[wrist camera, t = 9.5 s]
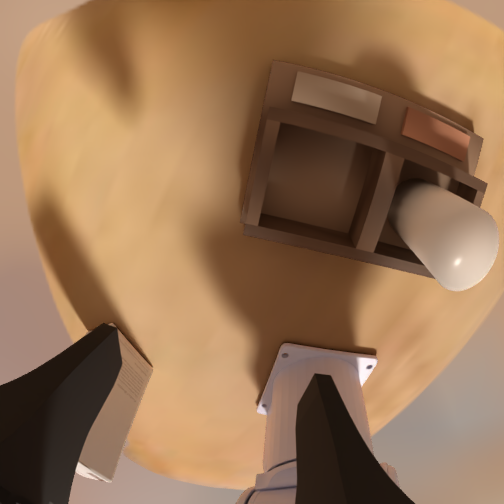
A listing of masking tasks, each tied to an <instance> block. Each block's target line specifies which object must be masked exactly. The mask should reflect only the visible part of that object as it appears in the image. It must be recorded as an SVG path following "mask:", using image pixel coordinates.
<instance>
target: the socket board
mask: <svg viewBox="0 0 504 504" xmlns="http://www.w3.org/2000/svg"><path fill="white" fill-rule="evenodd" d="M482 143H483V138H482V137H480V136H478V135H477V134H475V133H473V132H471V131H470V130H468V129H466V128H464V127H462V126H461V125H459V124H457V123H455V122H453V121H451V120H449V119H447V118H445V117H443V116H441V115H439V114H437V113H435V112H433V111H431V110H429V109H427V108H425V107H422V106H420V105H418V104H416V103H413V102H411V101H409V100H406V99H404V98H402V97H399V96H397V95H394V94H392V93H389V92H386V91H384V90H381V89H378V88H376V87H373V86H370V85H367V84H364V83H361V82H358V81H355V80H352V79H349V78H345V77H342V76H339V75H335V74H332V73H328V72H325V71H321V70H317V69H313V68H309V67H305V66H300V65H296V64H291V63H287V62H282V61H277V60H273V63H272V68H271V72H270V77H269V82H268V86H267V91H266V96H265V100H264V105H263V110H262V115H261V119H260V124H259V129H258V134H257V139H256V144H255V149H254V154H253V158H252V163H251V168H250V173H249V178H248V184H247V189H246V194H245V199H244V204H243V209H242V214H241V219H240V223H243V224H245V228H244V233H243V235H247V236H251V237H256V238H260V239H265V240H270V241H274V242H279V243H283V244H288V245H292V246H297V247H301V248H306V249H310V250H314V251H319V252H323V253H328V254H332V255H336V256H341V257H345V258H350V259H354V260H358V261H362V262H367V263H371V264H375V265H380V266H384V267H388V268H392V269H397V270H401V271H405V272H409V273H413V274H417V275H422V276H426V277H430V278H434V279H435V277H434V276H433V275H432V274H431V273H430V271H429V270H428V269H427V268H426V266H425V265H424V264H423V263H422V262H421V260H420V259H419V258H418V257H417V256H416V255H415V253H414V252H413V251H412V250H411V249H410V248H409V246H408V245H407V244H406V243H405V242H404V241H403V240H402V239H401V237H400V236H399V235H398V234H397V233H396V232H395V231H394V230H393V228H392V227H391V225H390V223H389V220H388V216H387V214H388V211H389V208H390V205H391V202H392V199H393V196H394V193H395V189H396V187H397V186H398V185H399V184H400V183H402V182H403V181H405V180H408V179H411V178H421V179H424V180H427V181H429V182H431V183H433V184H435V185H437V186H439V187H441V188H443V189H445V190H447V191H449V192H451V193H453V194H455V195H457V196H459V197H461V198H463V199H465V200H467V201H468V202H470V203H472V204H474V205H476V206H478V207H479V208H480V206H481V203H482V200H483V197H484V194H485V190H486V187H487V183H485V182H484V181H482V180H480V179H478V178H476V177H474V174H475V171H476V167H477V163H478V159H479V156H480V152H481V147H482Z"/></svg>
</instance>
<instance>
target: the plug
mask: <svg viewBox="0 0 504 504" xmlns="http://www.w3.org/2000/svg"><path fill="white" fill-rule="evenodd" d="M387 216H388V220H389V223H390V225H391V227H392V228H393V230H394V231H395V232H396V233H397V234H398V235H399V236H400V237H401V239H402V240H403V241H404V242H405V243H406V244H407V245H408V246H409V248H410V249H411V250H412V251H413V252H414V253H415V255H416V256H417V257H418V258H419V259H420V260H421V262H422V263H423V264H424V265H425V266H426V268H427V269H428V270H429V271H430V273H431V274H432V275H433V276H434V277H435V279H436V280H437V281H438V283H439V284H440V285H441V286H442V287H444V288H446V289H448V290H451V291H462V290H466V289H469V288H471V287H473V286H474V285H476V284H477V283H479V282H480V281H481V280H482V279H483V278H484V277H485V276H486V274H487V273H488V272H489V270H490V269H491V267H492V265H493V263H494V261H495V259H496V256H497V253H498V248H499V232H498V227H497V225H496V222H495V220H494V219H493V217H492V216H491V215H490V214H489V213H488V212H486V211H485V210H483V209H481V208H479V207H478V206H476V205H474V204H472V203H470V202H468V201H467V200H465V199H463V198H461V197H459V196H457V195H455V194H453V193H451V192H449V191H447V190H445V189H443V188H441V187H439V186H437V185H435V184H433V183H431V182H429V181H427V180H424V179H421V178H411V179H408V180H405V181H403V182H402V183H400V184H399V185H398V186H397V187H396V189H395V193H394V196H393V199H392V202H391V205H390V208H389V211H388V214H387Z"/></svg>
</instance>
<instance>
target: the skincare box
mask: <svg viewBox="0 0 504 504" xmlns="http://www.w3.org/2000/svg"><path fill="white" fill-rule="evenodd" d="M108 325H111V326H114V327H116V326H115V325H114V324H113V323H110V324H108ZM117 329H118V328H117ZM91 331H92V330H91ZM91 331H89V332H87V333H86V335H87V334H88V333H90V332H91ZM118 337H119V344H120V350H121V357H122V363H123V364H122V367H121V369H120V372H119V375H118V377H117V379H116V382H115V384H114V387H113V388H112V390H111V392H110V394H109V396H108V398H107V399H106V401H105V403H104V405H103V407H102V409H101V410H100V412H99V414H98V416H97V418H96V420H95V421H94V423H93V425H92V427H91V429H90V431H89V433H88V436H87V438H86V441H85V443H84V446H83V449H82V452H81V455H80V458H79V461H78V464H77V467H76V472H77V473H78V474H80V475H82V476H84V477H87V478H91V479H96V480H100V481H105V482H112V480H113V477H114V474H115V470H116V467H117V464H118V462H119V459H120V456H121V453H122V450H123V448H124V445H125V442H126V439H127V437H128V434H129V431H130V428H131V426H132V423H133V420H134V418H135V415H136V413H137V410H138V407H139V405H140V402H141V400H142V397H143V394H144V392H145V389H146V387H147V384H148V382H149V379H150V377H151V375H152V372H153V368H152V367H151V366H150V365H149V364H148V363H147V362H146V360H145V359H144V358H143V357H142V356H141V355H140V354H139V353H138V352H137V351H136V349H135V348H134V347H133V346H132V345H131V344H130V343H129V341H128V340H127V339H126V338H125V337H124V336H123V334H122V333H121V332H120V331H119V330H118Z"/></svg>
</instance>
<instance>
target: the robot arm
mask: <svg viewBox="0 0 504 504" xmlns="http://www.w3.org/2000/svg"><path fill="white" fill-rule="evenodd" d="M284 353H287V354H284ZM377 362H378V359H377V357H376V356H374V355H365V354H357V353H349V352H342V351H335V350H328V349H322V348H315V347H309V346H303V345H297V344H291V343H284V344H282V345H281V347H280V349H279V352H278V355H277V358H276V360H275V363H274V366H273V368H272V371H271V374H270V376H269V379H268V381H267V384H266V386H265V389H264V392H263V394H262V397H261V399H260V402H259V404H258V407H257V412H258V413H260V414H266V415H267V421H266V433H265V444H264V455H263V469H264V472H265V473H262V474H257V475H256V484H255V486H254V487H250V488H248V489H247V490H245V491H244V492H243V493H242V494H241V496H240V497H239V499H238V500H237V502H236V504H415V503H414V502H413V501H412V500H410V498H408V497H407V496H406V494H404V492H403V491H402V490H401V489H400V487H399V482H398V477H397V473H396V470H395V468H394V467H392V466H389V465H388V464H387V463H381V464H379V463H378V461H377V460H376V459H375V457H374V454H373V448H372V441H371V435H370V429H369V424H368V418H367V413H366V407H365V402H364V397H363V392H362V385H363V384H364V382H365V381H366V379H367V378H368V376H369V375H370V373H371V372H372V370H373V369H374V367H375V366H376V364H377ZM122 364H123V363H122V357H121V350H120V344H119V337H118V329H117V327H114V326H111V325H108V324H105V323H103V324H101V325H100V326H98V327H97V328H95V329H94V330H92V331H91V332H90V333H88V334H87V335H85V336H84V337H83V338H81V339H80V340H78V341H77V342H76V343H74V344H73V345H71V346H70V347H69V348H67V349H66V350H64V351H63V352H62V353H60V354H58V355H57V356H55V357H54V358H52V359H51V360H49V361H48V362H46V363H44V364H43V365H41V366H39V367H38V368H36V369H34V370H32V371H31V372H29V373H27V374H25V375H23V376H21V377H19V378H17V379H15V380H13V381H10V382H8V383H6V384H3V385H1V386H0V504H68V502H69V496H70V491H71V486H72V482H73V478H74V474H75V471H76V467H77V464H78V461H79V458H80V455H81V452H82V449H83V446H84V443H85V441H86V438H87V436H88V433H89V431H90V429H91V427H92V425H93V423H94V421H95V420H96V418H97V416H98V414H99V412H100V410H101V409H102V407H103V405H104V403H105V401H106V399H107V398H108V396H109V394H110V392H111V390H112V388H113V387H114V384H115V382H116V379H117V377H118V375H119V372H120V369H121V367H122ZM368 365H369V366H368Z"/></svg>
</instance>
